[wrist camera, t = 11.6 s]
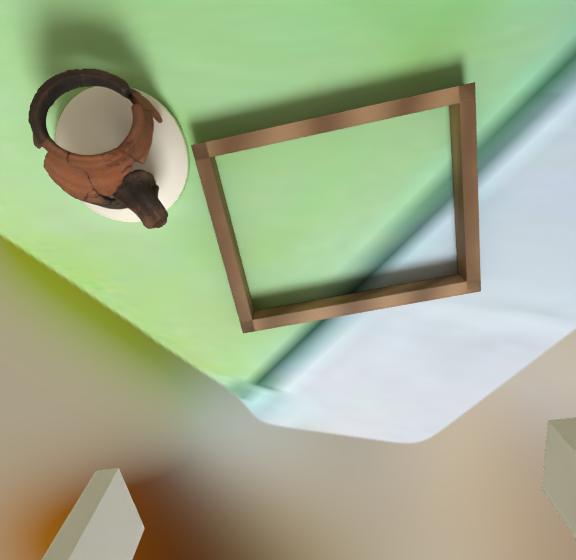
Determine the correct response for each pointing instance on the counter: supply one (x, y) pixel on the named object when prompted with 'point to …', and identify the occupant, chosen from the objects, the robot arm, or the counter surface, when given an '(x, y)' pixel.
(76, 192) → the brown hollow round piece
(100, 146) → the white dome
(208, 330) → the counter surface
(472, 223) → the walnut frame
